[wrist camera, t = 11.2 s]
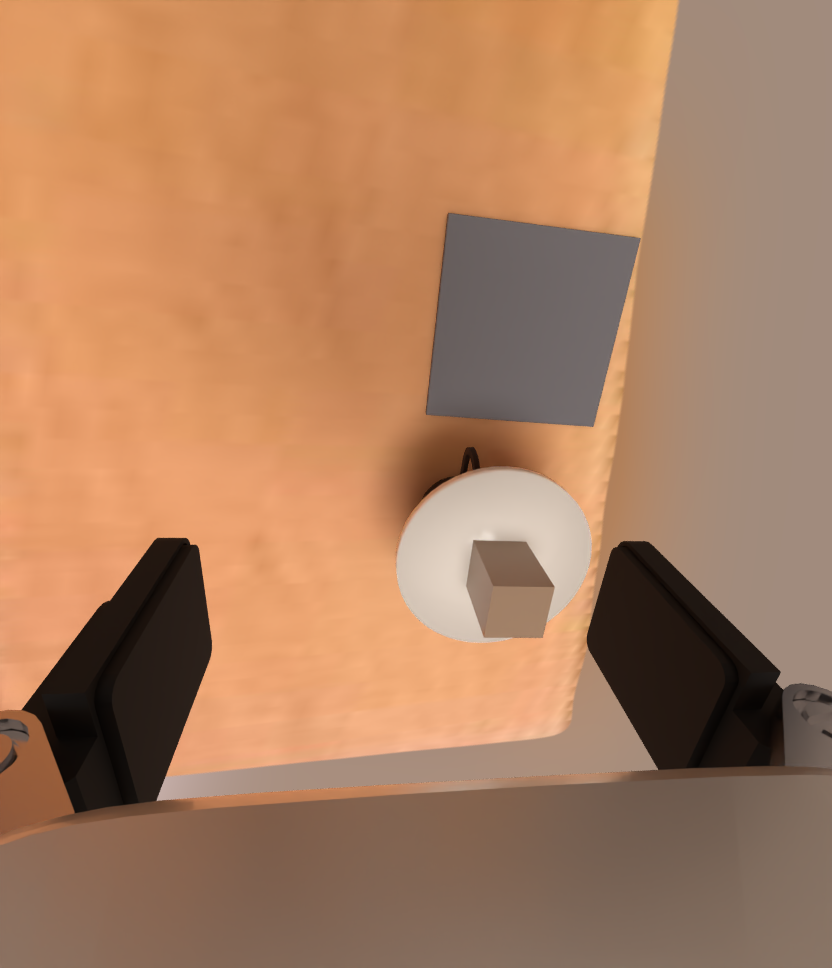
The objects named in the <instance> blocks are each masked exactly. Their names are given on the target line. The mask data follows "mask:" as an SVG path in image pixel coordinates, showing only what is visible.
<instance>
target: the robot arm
mask: <svg viewBox="0 0 832 968" xmlns="http://www.w3.org/2000/svg"><path fill="white" fill-rule="evenodd" d="M587 645H588V649H589V651H590V653H591V654H592V656H593V658H594V660H595V661H596V663H597V665H598V666H599V668H600V670H601V672H602V673H603V675H604V677H605V678H606V680H607V682H608V684H609V685H610V687H611V689H612V691H613V692H614V694H615V696H616V697H617V699H618V701H619V703H620V704H621V706H622V708H623V709H624V711H625V713H626V715H627V716H628V718H629V719H630V722H631V723H632V725H633V727H634V728H635V730H636V732H637V733H638V735H639V737H640V739H641V740H642V742H643V744H644V746H645V747H646V749H647V751H648V752H649V754H650V756H651V758H652V759H653V761H654V763H655V765H656V766H657V768H658V770H650V771H631V772H630V771H629V772H610V773H609V772H608V773H590V774H569V775H551V776H532V777H515V778H496V779H479V780H463V781H444V782H426V783H409V784H393V785H376V786H362V787H344V788H328V789H312V790H296V791H282V792H281V791H280V792H265V793H252V794H251V793H250V794H238V795H225V796H213V797H200V798H187V799H175V800H162V801H156V800H157V797H158V795H159V792H160V789H161V787H162V784H163V781H164V779H165V776H166V774H167V771H168V768H169V766H170V763H171V760H172V758H173V755H174V752H175V750H176V747H177V745H178V742H179V739H180V737H181V734H182V731H183V729H184V726H185V723H186V721H187V718H188V716H189V713H190V710H191V708H192V705H193V702H194V700H195V697H196V694H197V692H198V689H199V686H200V684H201V681H202V679H203V676H204V673H205V671H206V668H207V665H208V663H209V660H210V657H211V651H212V639H211V632H210V625H209V618H208V611H207V603H206V596H205V589H204V582H203V575H202V568H201V561H200V554H199V548H198V546H197V545H190V542H189V540H188V539H187V538H157V539H156V540H155V541H154V542H153V543H152V545H151V546H150V547H149V549H148V550H147V551H146V553H145V554H144V555H143V557H142V558H141V560H140V561H139V562H138V564H137V565H136V566H135V568H134V569H133V570H132V572H131V573H130V575H129V576H128V577H127V579H126V580H125V581H124V583H123V584H122V585H121V587H120V588H119V589H118V591H117V592H116V594H115V595H114V596H113V598H112V599H111V600H110V601H107V602H105V603H103V604H102V605H101V606H100V607H99V608H98V609H97V611H96V612H95V613H94V615H93V616H92V617H91V618H90V620H89V621H88V622H87V624H86V625H85V626H84V628H83V629H82V630H81V632H80V633H79V634H78V636H77V637H76V638H75V640H74V641H73V642H72V644H71V645H70V646H69V648H68V649H67V650H66V652H65V653H64V654H63V656H62V657H61V658H60V660H59V661H58V662H57V664H56V665H55V666H54V668H53V669H52V670H51V672H50V673H49V674H48V676H47V677H46V678H45V680H44V681H43V682H42V684H41V685H40V686H39V688H38V689H37V690H36V692H35V693H34V694H33V695H32V697H31V698H30V699H29V701H28V702H27V703H26V705H25V706H24V707H23V709H22V710H5V711H0V968H832V692H831V691H829V690H827V689H824V688H820V687H817V686H814V685H808V684H801V683H800V684H791V685H789V686H788V687H786V688H785V689H784V690H783V689H782V688H780V686H779V685H778V684H777V683H776V680H777V679H778V677H779V675H780V671H779V670H778V669H777V668H776V667H775V666H774V665H773V664H772V663H771V662H770V661H769V660H768V659H767V658H766V657H765V656H764V655H763V654H762V653H761V652H760V651H759V650H758V649H757V648H756V647H755V646H754V645H753V644H752V643H751V642H750V641H749V640H748V639H747V638H746V637H745V636H744V635H743V634H742V633H741V632H740V631H739V630H738V629H737V628H736V627H735V626H734V625H733V624H732V623H731V622H730V621H729V620H728V619H726V617H725V616H724V615H723V614H721V613H720V611H719V610H718V609H717V608H715V607H714V606H713V605H712V604H711V603H710V602H709V601H708V600H707V599H706V598H705V597H704V596H703V595H702V594H701V593H700V592H699V591H698V590H697V589H696V588H695V587H694V586H693V585H692V584H691V583H690V582H689V581H688V580H687V579H686V578H685V577H684V576H683V575H682V574H681V573H680V572H679V571H678V570H677V569H676V568H675V567H674V566H673V565H672V564H671V563H670V562H669V561H668V560H667V559H666V558H665V557H664V556H663V555H661V553H660V552H659V551H658V550H657V549H656V548H655V547H654V546H652V545H651V544H650V543H649V542H645V541H623V542H621V543H620V544H619V545H618V547H615V548H613V550H612V551H611V554H610V557H609V561H608V564H607V568H606V571H605V574H604V578H603V581H602V585H601V588H600V592H599V595H598V599H597V602H596V606H595V609H594V613H593V616H592V619H591V623H590V626H589V630H588V633H587Z"/></svg>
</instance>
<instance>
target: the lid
mask: <svg viewBox="0 0 832 968" xmlns="http://www.w3.org/2000/svg"><path fill="white" fill-rule="evenodd" d="M591 548H592V542H591V533H590V529H589V525H588V522H587V520H586V517H585V515H584V513H583V511H582V510H581V508H580V507H579V505H578V504H577V502H576V501H575V500H574V499H573V498H572V497H571V496H570V495H569V494H568V493H567V492H566V491H565V490H564V489H563V488H562V487H561V486H560V485H558V484H557V483H556V482H555V481H553V480H551V479H550V478H548V477H546V476H545V475H542V474H540V473H537V472H535V471H532V470H528V469H524V468H519V467H511V466H493V467H486V468H480V469H476V470H472V471H468V472H466V473H463V474H461V475H458V476H456V477H454V478H452V479H450V480H448V481H446V482H444V483H442V484H441V485H440V486H438V487H437V488H435V489H434V490H433V491H431V492H430V493H429V494H428V495H427V496H426V497H425V498H424V499H422V500H421V502H420V503H419V504H418V505H417V506H416V507H415V509H414V510H413V511H412V513H411V514H410V516H409V517H408V519H407V520H406V523H405V525H404V527H403V529H402V531H401V534H400V537H399V540H398V544H397V550H396V571H397V579H398V585H399V588H400V591H401V595H402V597H403V599H404V601H405V603H406V605H407V606H408V608H409V609H410V610H411V612H412V613H413V614H414V615H415V616H416V617H417V618H418V619H419V621H421V622H422V623H423V624H424V625H426V626H427V627H428V628H430V629H432V630H433V631H435V632H437V633H439V634H441V635H444V636H446V637H449V638H452V639H456V640H460V641H466V642H477V643H486V642H497V641H503V640H508V639H511V638H543V634H544V630H545V626H546V623H547V622H548V621H550V620H551V619H552V618H553V617H555V616H556V615H557V614H558V613H559V612H560V611H561V610H563V609H564V608H565V607H566V606H567V604H568V603H569V602H570V601H571V600H572V598H573V597H574V596H575V594H576V593H577V591H578V590H579V588H580V587H581V585H582V583H583V581H584V578H585V576H586V573H587V570H588V568H589V564H590V558H591Z"/></svg>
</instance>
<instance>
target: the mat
mask: <svg viewBox="0 0 832 968" xmlns="http://www.w3.org/2000/svg"><path fill="white" fill-rule="evenodd" d="M640 239H641V238H635V237H627V236H620V235H612V234H604V233H597V232H589V231H581V230H574V229H566V228H559V227H551V226H543V225H536V224H528V223H520V222H513V221H505V220H498V219H490V218H482V217H475V216H467V215H459V214H452V213H449V214H448V217H447V226H446V236H445V245H444V254H443V263H442V272H441V281H440V290H439V299H438V308H437V317H436V326H435V335H434V344H433V353H432V362H431V371H430V380H429V389H428V398H427V407H426V415H437V416H450V417H464V418H478V419H492V420H506V421H520V422H534V423H548V424H562V425H576V426H590V427H593V426H594V422H595V418H596V414H597V410H598V406H599V402H600V398H601V394H602V390H603V386H604V382H605V378H606V374H607V370H608V366H609V362H610V358H611V354H612V350H613V346H614V342H615V338H616V334H617V330H618V326H619V322H620V318H621V314H622V310H623V306H624V302H625V298H626V294H627V290H628V286H629V282H630V278H631V274H632V271H633V267H634V263H635V259H636V255H637V251H638V247H639V243H640Z"/></svg>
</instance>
